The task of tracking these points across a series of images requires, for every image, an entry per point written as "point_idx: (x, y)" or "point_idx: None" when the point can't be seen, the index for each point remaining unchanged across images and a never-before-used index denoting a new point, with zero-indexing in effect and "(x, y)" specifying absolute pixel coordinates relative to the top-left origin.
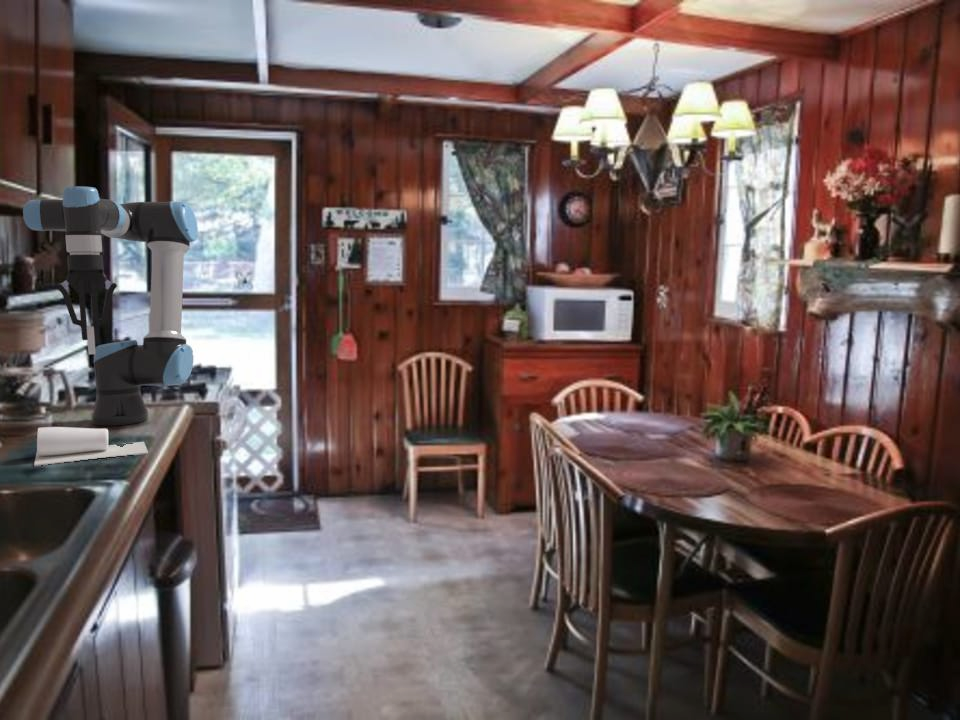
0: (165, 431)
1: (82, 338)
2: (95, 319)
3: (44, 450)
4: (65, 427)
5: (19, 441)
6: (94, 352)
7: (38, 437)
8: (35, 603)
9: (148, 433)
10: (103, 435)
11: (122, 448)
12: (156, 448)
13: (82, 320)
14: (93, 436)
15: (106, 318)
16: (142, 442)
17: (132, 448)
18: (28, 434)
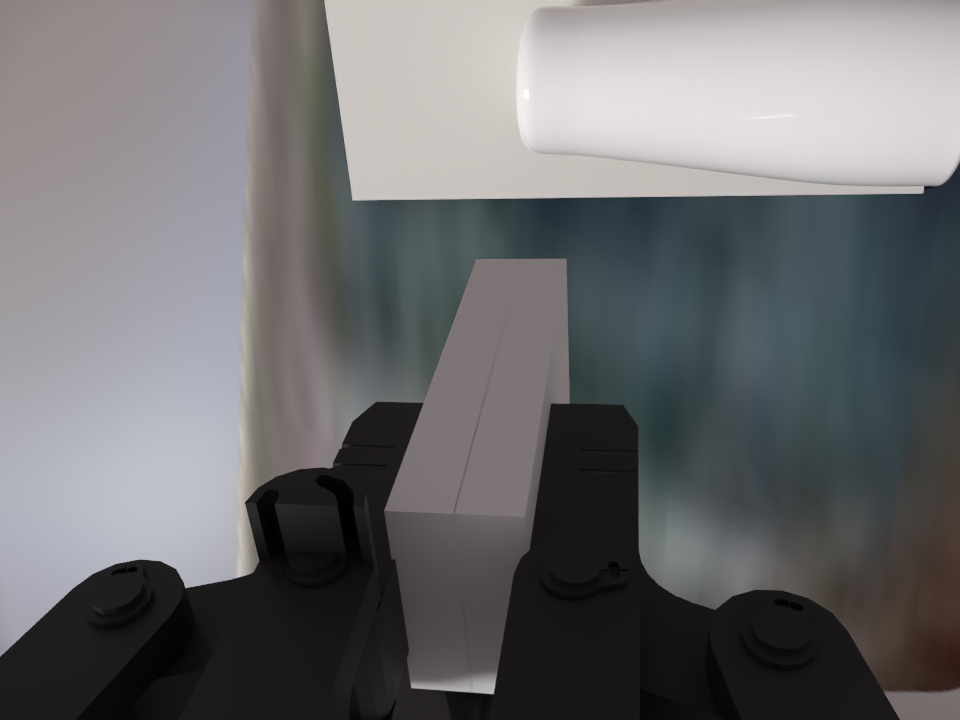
0: (272, 424)
1: (630, 420)
2: (287, 638)
3: None
4: (787, 106)
5: (953, 540)
6: (486, 270)
7: None
8: None
9: (350, 419)
10: (548, 27)
11: (459, 68)
12: (277, 20)
13: (596, 651)
14: (610, 20)
15: (42, 637)
16: (359, 180)
17: (403, 39)
18: (891, 658)
